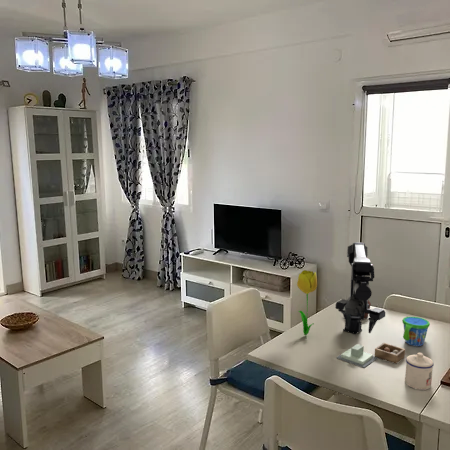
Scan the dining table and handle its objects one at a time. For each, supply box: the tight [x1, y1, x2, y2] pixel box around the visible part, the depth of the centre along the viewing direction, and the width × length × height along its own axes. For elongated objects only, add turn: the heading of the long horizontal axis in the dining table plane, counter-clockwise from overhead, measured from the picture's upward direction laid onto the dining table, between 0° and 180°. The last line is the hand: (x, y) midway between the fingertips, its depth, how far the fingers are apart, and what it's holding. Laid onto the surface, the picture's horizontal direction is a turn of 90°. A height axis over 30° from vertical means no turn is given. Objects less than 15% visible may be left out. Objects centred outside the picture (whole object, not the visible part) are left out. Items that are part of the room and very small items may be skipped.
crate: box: [374, 342, 406, 365], centre depth 185 cm, size 9×8×4 cm
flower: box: [296, 269, 318, 336], centre depth 203 cm, size 9×8×30 cm
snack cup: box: [402, 316, 431, 347], centre depth 197 cm, size 16×10×10 cm
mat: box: [336, 350, 379, 369], centre depth 184 cm, size 12×11×1 cm
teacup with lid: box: [404, 352, 434, 391], centre depth 165 cm, size 12×9×12 cm
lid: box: [340, 343, 374, 365], centre depth 184 cm, size 9×8×4 cm
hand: (358, 329), depth 183 cm, fingers open, 9 cm apart
